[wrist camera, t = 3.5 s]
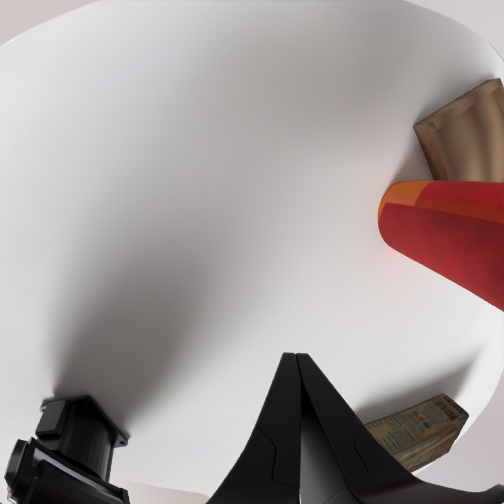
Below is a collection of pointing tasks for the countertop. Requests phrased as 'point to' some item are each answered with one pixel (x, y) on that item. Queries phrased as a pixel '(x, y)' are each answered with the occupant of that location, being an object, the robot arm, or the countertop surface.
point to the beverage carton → (420, 431)
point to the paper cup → (450, 231)
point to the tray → (467, 136)
